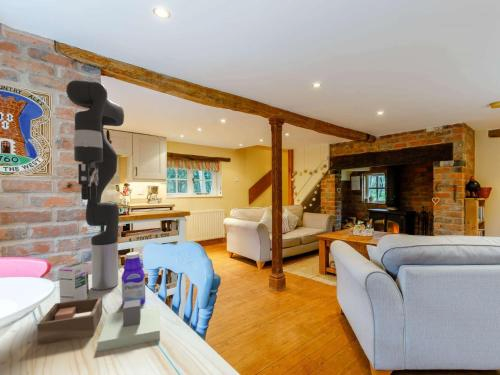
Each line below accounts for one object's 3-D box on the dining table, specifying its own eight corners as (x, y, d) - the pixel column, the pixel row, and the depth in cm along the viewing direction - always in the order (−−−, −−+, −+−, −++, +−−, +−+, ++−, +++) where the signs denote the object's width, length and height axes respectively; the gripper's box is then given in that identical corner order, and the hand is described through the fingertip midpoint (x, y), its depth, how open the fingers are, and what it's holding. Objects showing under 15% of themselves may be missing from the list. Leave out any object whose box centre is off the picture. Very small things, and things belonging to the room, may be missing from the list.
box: (55, 323, 76) (55, 303, 76) (102, 316, 80) (102, 297, 80) (38, 348, 65) (37, 324, 64) (93, 338, 69) (93, 315, 69)
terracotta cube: (60, 322, 75) (59, 308, 75) (76, 320, 76) (76, 306, 76) (55, 330, 71) (54, 315, 71) (72, 327, 73) (71, 313, 72)
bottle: (122, 310, 83) (121, 256, 83) (121, 303, 88) (120, 252, 88) (146, 305, 87) (145, 253, 86) (144, 299, 92) (143, 250, 91)
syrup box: (74, 313, 82) (74, 267, 82) (59, 311, 83) (58, 266, 83) (89, 305, 87) (88, 262, 87) (74, 303, 89) (73, 261, 88)
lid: (108, 324, 75) (107, 297, 75) (159, 315, 80) (159, 290, 80) (97, 354, 62) (97, 321, 62) (159, 342, 67) (159, 311, 67)
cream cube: (75, 328, 72) (75, 314, 72) (91, 325, 73) (91, 311, 73) (70, 336, 68) (70, 321, 68) (88, 333, 70) (88, 318, 69)
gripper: (80, 149, 86) (81, 198, 86) (67, 142, 73) (68, 200, 73) (106, 149, 89) (107, 197, 89) (97, 143, 75) (98, 199, 76)
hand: (89, 198), depth 81 cm, fingers open, 8 cm apart
